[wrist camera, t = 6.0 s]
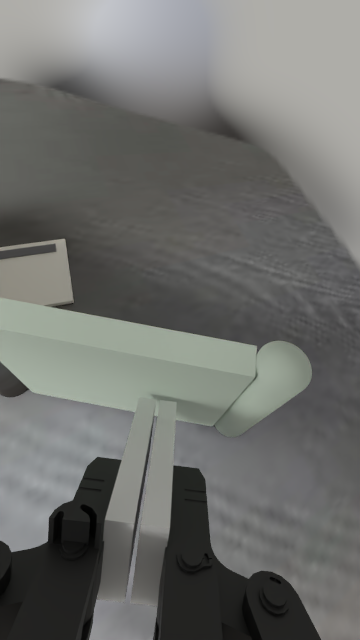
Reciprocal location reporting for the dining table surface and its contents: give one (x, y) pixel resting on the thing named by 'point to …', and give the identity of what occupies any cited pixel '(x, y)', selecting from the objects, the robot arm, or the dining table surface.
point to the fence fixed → (10, 383)
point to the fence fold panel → (148, 366)
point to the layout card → (36, 273)
